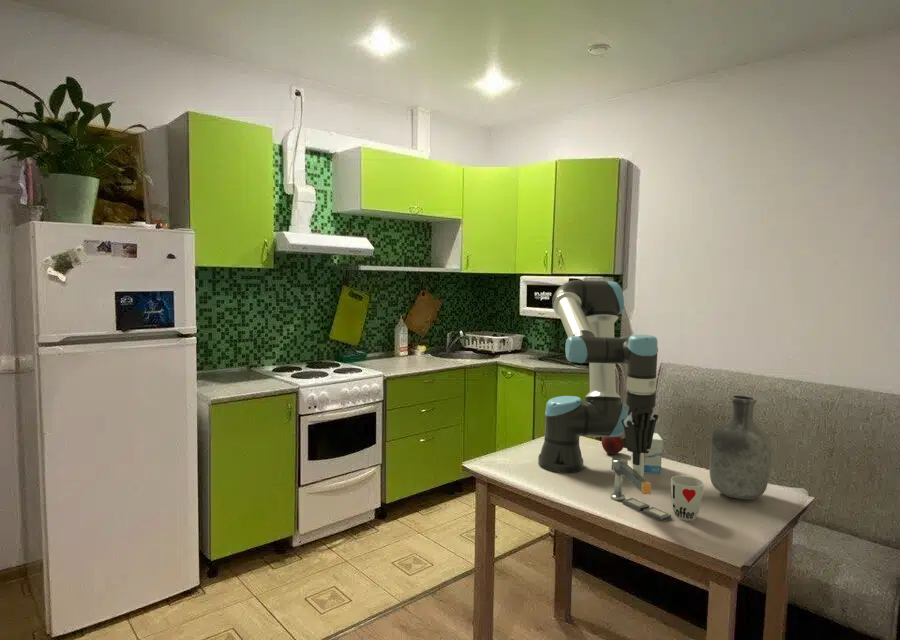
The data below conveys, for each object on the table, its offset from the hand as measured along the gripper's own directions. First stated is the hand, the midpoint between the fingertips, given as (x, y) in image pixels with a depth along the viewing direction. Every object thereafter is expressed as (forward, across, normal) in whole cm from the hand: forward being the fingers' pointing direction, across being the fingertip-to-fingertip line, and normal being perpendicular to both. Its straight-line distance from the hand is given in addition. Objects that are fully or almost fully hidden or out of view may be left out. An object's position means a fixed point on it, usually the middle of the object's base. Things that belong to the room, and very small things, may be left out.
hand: (638, 475), depth 152 cm
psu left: (+10, +1, +1) cm, 10 cm away
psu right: (+10, +1, -6) cm, 11 cm away
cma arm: (+1, -2, +1) cm, 2 cm away
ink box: (+11, +30, +20) cm, 38 cm away
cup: (+10, +8, -10) cm, 16 cm away
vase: (+11, +35, -9) cm, 38 cm away
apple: (+11, +33, +36) cm, 50 cm away
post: (+10, +1, +8) cm, 13 cm away
